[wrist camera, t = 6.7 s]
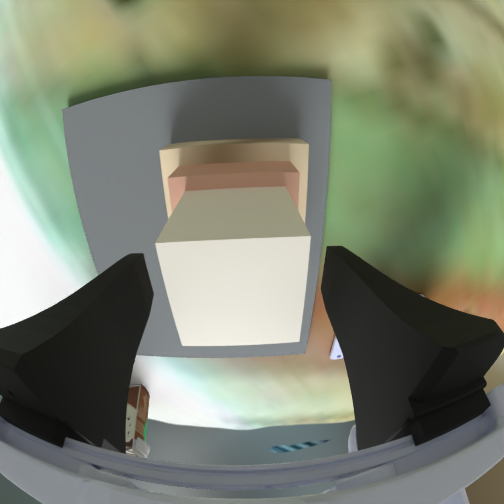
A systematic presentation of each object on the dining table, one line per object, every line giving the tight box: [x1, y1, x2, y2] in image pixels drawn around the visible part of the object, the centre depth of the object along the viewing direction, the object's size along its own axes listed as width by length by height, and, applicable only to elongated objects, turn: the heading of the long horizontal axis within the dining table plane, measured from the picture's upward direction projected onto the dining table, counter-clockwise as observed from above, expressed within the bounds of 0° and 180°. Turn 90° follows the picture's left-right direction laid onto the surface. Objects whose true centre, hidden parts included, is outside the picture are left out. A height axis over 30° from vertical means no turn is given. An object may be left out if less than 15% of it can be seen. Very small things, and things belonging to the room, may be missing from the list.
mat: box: [62, 76, 331, 358], centre depth 20 cm, size 18×24×1 cm
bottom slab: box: [159, 138, 309, 223], centre depth 17 cm, size 8×8×2 cm
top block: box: [155, 186, 311, 346], centre depth 11 cm, size 5×5×5 cm
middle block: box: [167, 161, 300, 212], centre depth 14 cm, size 6×6×2 cm
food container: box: [126, 384, 150, 458], centre depth 28 cm, size 12×6×10 cm, turn 111°
